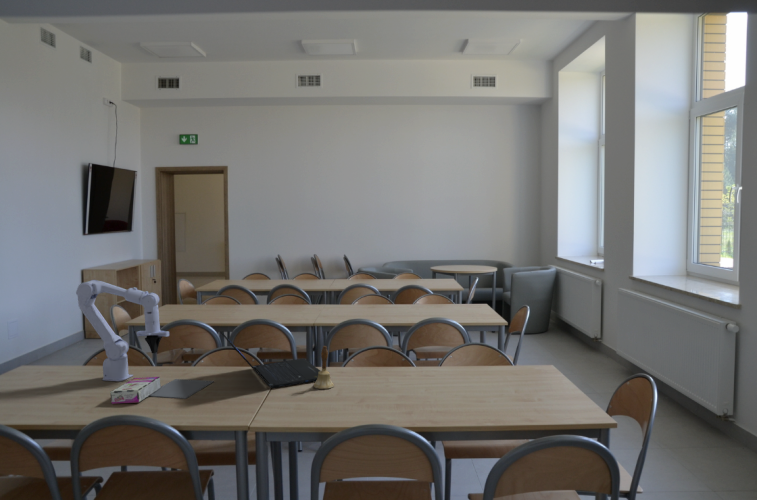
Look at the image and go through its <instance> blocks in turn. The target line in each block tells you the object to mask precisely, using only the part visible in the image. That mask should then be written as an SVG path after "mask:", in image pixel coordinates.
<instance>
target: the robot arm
mask: <svg viewBox="0 0 757 500" xmlns="http://www.w3.org/2000/svg"><path fill="white" fill-rule="evenodd" d="M104 293H106V294H111V295H115V296H118V297H122V298H124V299H125V301H127V302H130V303H133V304H137V305H140V306H142V307H143V310H144V311H143V313H144V323H145V325H144V326H145V327H144V329H145V330H139V331H137V332H136V335H137V337H140V336H141V337H144V340H145V342H146V343H147V344H148V347H149V349H150V352H151V354H156V353H158V350H159V345H160V343H161V339H162V338H163V337H165V338H166V337H167V338H168V337H170V331H166V330H161V325H160V311H159V303H160V301H161V300H160V296H159V295H158V294H157V293H155V292H152V291H151V292H149V291H147V290H146V291H144V290H140V289H138V287H135V286H134V287H129V288H128V289H125V288H123V287H122V286H121V287H120V286H118V285H114V284H111V283H108V282H105V281H103V280H97V279H91V280H89V281H85V282H84V281H83V282H81V283H80V284H78V286H77V288H76V291H75V294H76V296H77V300H78V301H77V303H78V308H79V309H80V310H81V312H82V314H83V315H84V316H85V318H86V319H87V320H88V322H89V323H90V324H91V326H92V327H93V329H94V330H95V332H96V333H97V334H98V336H99V338H100V339H101V341H102V342H103V349H104V351H105V355H106V357H107V358H105V359H104V361H103V363H102V373H103V374H102V375H103V376H102V377H103V378H102V379H101V380H102V381H107V382H108V381H110V382H123V381H125V380H127V379H129V378H131V377H134V374H129V363H128V361H129V360H128V354H127V353H128V351H129V348H130V346H129V343H128V342H127V341H126V340H124V339H123V338H122V337H121V336H120V335H117V334H116V333H115V332H114V330H113V329H112V327H111V326H110V325H109V323H108V322H107V320H106V319H105V318H104V316H103V315H102V313H101V312H100V310H99V309H98V308H97V306H96V305H95V302H96V299H97V297H98V295H100V294H104Z"/></svg>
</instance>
